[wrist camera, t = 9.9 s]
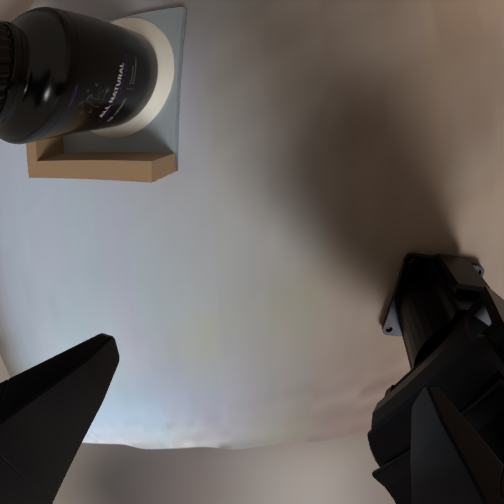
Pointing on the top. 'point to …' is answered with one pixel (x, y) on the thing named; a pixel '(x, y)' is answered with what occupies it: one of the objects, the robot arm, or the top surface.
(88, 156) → the corner arena
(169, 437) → the top surface
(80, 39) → the supplement bottle
